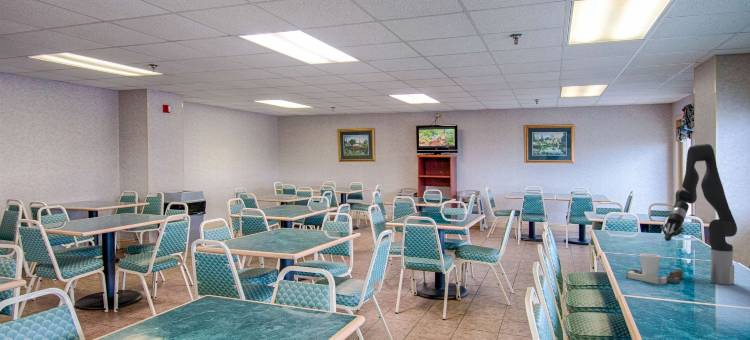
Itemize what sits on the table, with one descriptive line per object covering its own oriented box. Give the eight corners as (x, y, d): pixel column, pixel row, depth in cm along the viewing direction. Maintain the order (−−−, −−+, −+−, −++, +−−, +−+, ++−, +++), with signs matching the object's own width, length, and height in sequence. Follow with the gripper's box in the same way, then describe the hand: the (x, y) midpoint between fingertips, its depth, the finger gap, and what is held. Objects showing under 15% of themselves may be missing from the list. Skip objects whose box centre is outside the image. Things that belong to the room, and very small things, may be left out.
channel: (682, 277, 257) (682, 270, 257) (673, 280, 252) (673, 272, 251) (649, 271, 271) (649, 264, 271) (641, 274, 266) (641, 267, 266)
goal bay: (666, 282, 246) (666, 277, 246) (661, 284, 243) (661, 278, 243) (631, 276, 261) (631, 270, 261) (626, 277, 258) (626, 272, 258)
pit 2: (679, 282, 247) (679, 277, 247) (674, 283, 244) (674, 279, 244) (668, 280, 252) (668, 275, 252) (663, 281, 249) (663, 277, 249)
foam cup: (664, 281, 250) (664, 256, 250) (648, 281, 249) (648, 257, 248) (651, 276, 259) (651, 253, 259) (635, 277, 258) (636, 253, 258)
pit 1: (642, 275, 263) (642, 271, 263) (637, 276, 260) (637, 272, 259) (632, 273, 267) (632, 269, 267) (627, 274, 264) (627, 270, 264)
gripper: (662, 211, 275) (652, 234, 268) (687, 213, 264) (677, 237, 257) (666, 220, 278) (656, 243, 271) (691, 222, 267) (682, 245, 260)
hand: (667, 240), depth 264 cm, fingers closed
